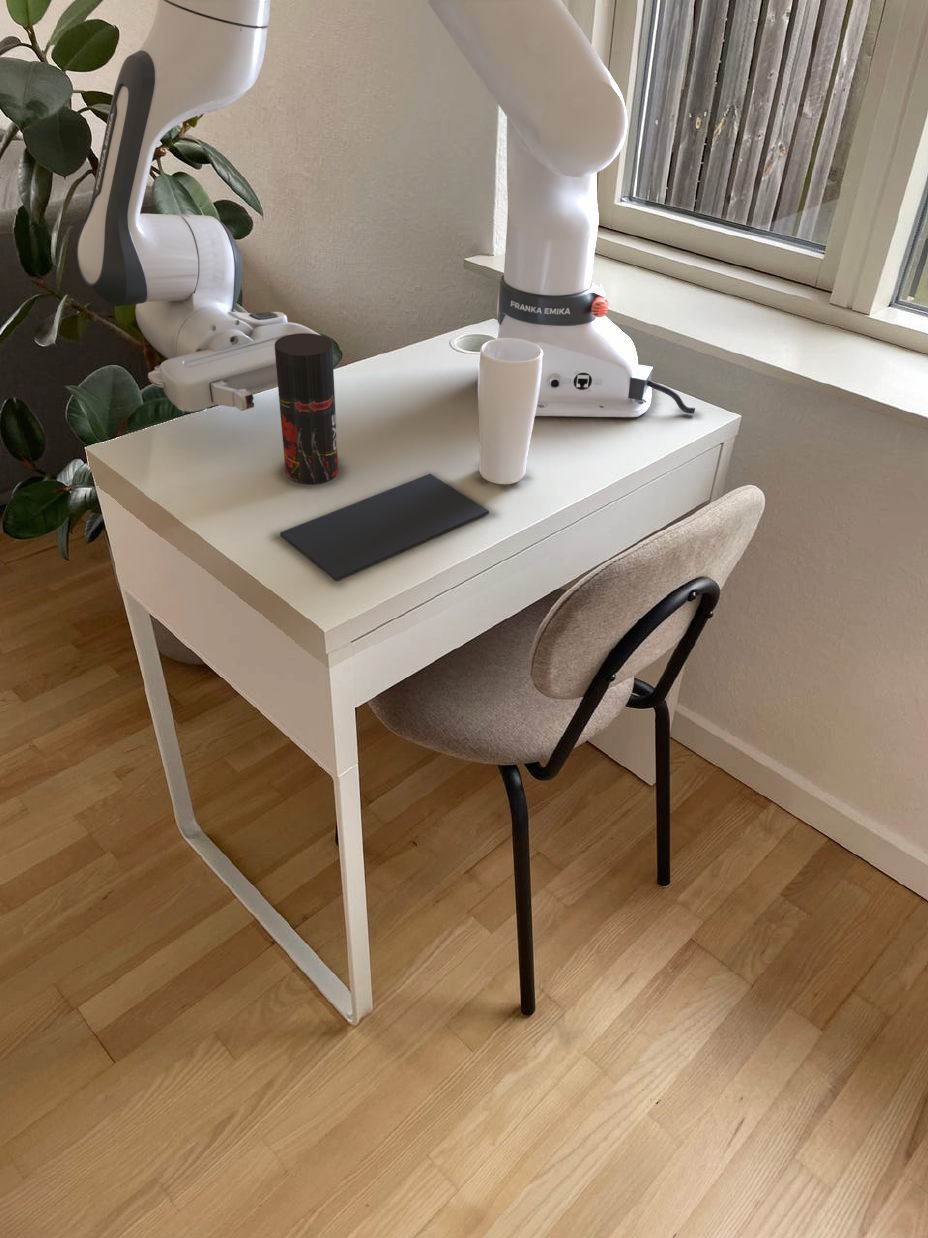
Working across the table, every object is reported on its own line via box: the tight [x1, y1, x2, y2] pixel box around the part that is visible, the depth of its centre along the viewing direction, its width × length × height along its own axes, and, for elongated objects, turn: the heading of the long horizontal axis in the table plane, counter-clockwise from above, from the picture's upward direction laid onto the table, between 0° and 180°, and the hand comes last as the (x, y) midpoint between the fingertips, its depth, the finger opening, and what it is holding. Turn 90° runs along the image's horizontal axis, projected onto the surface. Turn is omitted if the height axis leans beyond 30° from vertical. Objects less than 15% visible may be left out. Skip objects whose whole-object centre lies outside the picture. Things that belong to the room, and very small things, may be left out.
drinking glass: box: [477, 338, 543, 485], centre depth 103 cm, size 7×7×15 cm
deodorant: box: [274, 333, 339, 485], centre depth 101 cm, size 6×6×15 cm
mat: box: [279, 473, 490, 582], centre depth 98 cm, size 20×10×1 cm, turn 131°
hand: (285, 391), depth 104 cm, fingers open, 8 cm apart
